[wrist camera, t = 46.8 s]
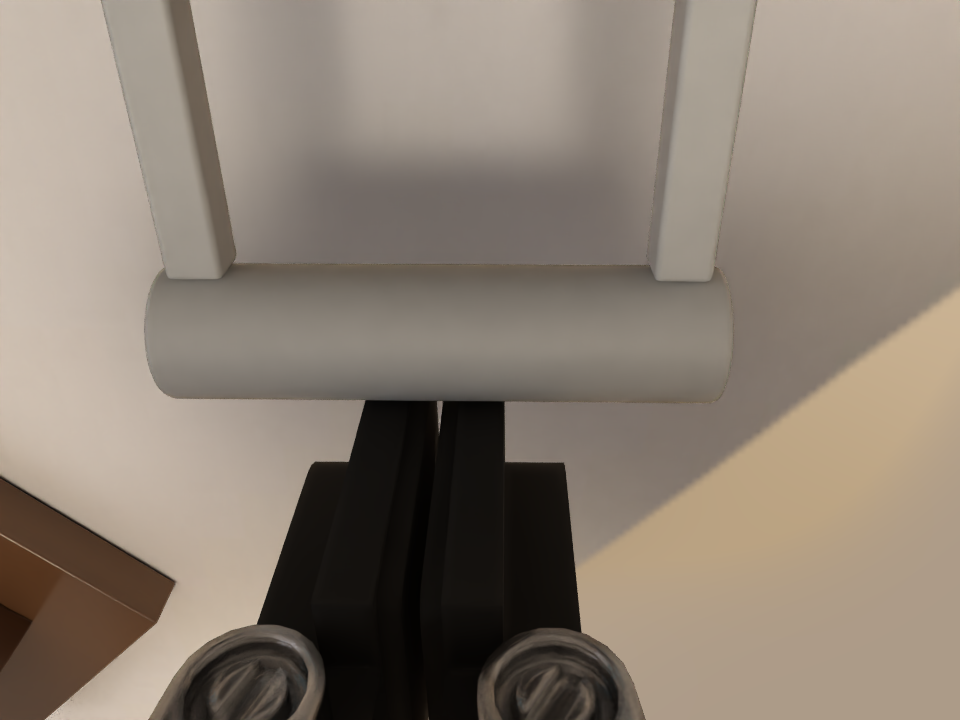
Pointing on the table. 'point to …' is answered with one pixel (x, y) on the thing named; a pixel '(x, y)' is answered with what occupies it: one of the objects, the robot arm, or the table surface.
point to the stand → (63, 605)
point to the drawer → (435, 287)
